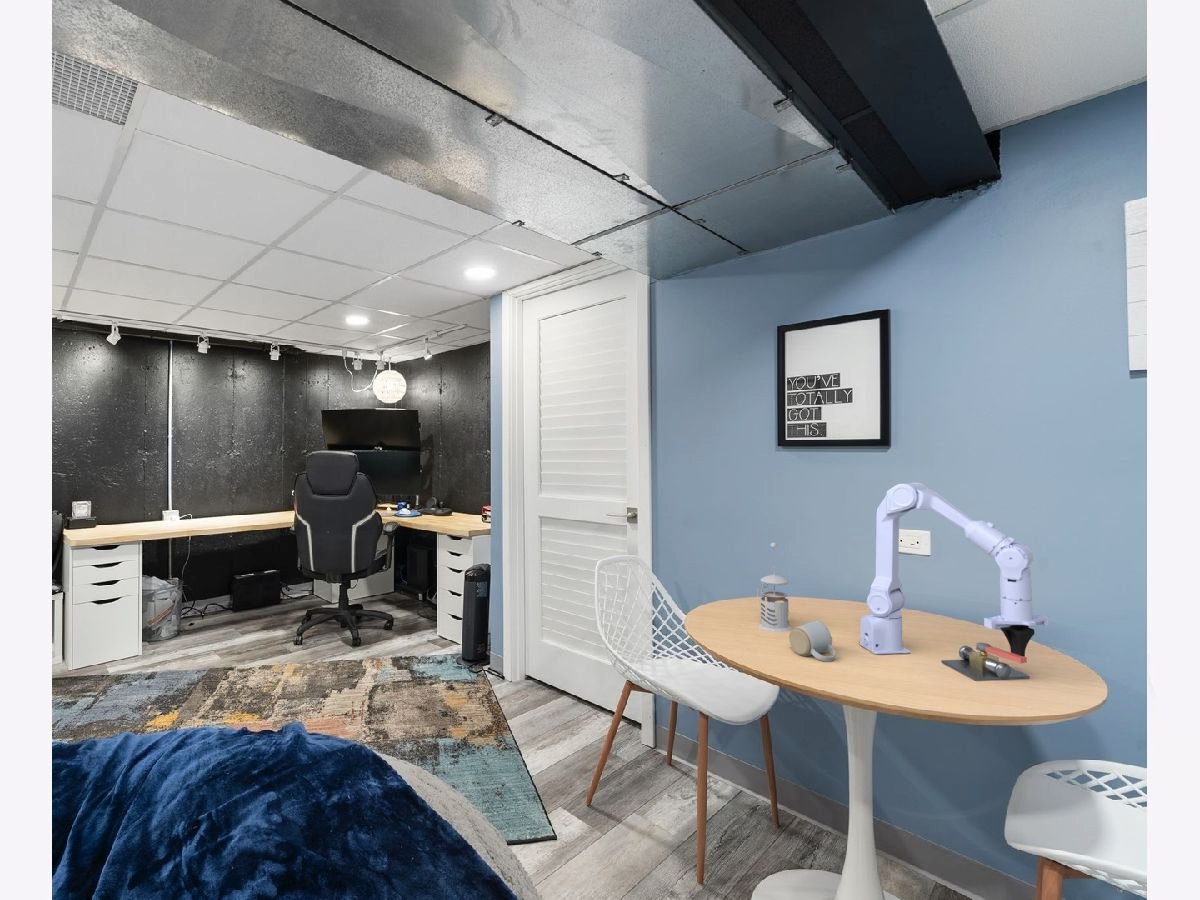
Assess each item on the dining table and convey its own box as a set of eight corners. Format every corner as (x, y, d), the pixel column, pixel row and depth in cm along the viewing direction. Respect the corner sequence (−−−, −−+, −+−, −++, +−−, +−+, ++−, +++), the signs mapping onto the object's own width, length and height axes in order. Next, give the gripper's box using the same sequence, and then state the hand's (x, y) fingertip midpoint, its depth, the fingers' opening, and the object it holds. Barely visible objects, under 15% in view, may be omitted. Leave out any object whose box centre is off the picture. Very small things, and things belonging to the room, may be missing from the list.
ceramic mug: (786, 651, 144) (786, 622, 144) (808, 646, 148) (808, 617, 148) (820, 665, 135) (820, 634, 135) (843, 659, 139) (843, 628, 139)
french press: (772, 633, 159) (771, 545, 159) (746, 622, 169) (745, 540, 170) (799, 629, 163) (798, 543, 163) (772, 618, 173) (771, 538, 174)
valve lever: (973, 648, 132) (973, 643, 132) (982, 647, 133) (982, 642, 133) (1019, 664, 122) (1019, 658, 122) (1028, 662, 123) (1028, 657, 123)
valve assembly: (1031, 679, 125) (1031, 659, 125) (976, 681, 124) (976, 661, 124) (990, 660, 137) (990, 641, 137) (940, 661, 136) (939, 643, 136)
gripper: (1002, 604, 120) (1004, 667, 120) (1061, 600, 122) (1063, 663, 122) (975, 596, 127) (977, 656, 127) (1032, 593, 129) (1033, 652, 129)
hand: (1017, 658), depth 125 cm, fingers closed, pressing on valve lever
